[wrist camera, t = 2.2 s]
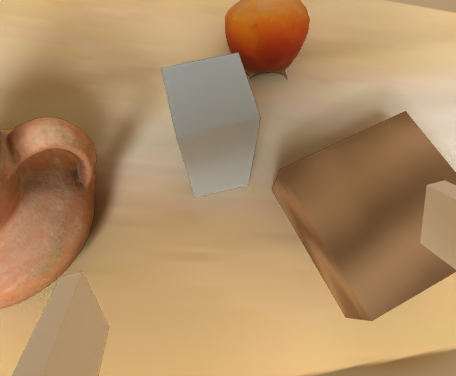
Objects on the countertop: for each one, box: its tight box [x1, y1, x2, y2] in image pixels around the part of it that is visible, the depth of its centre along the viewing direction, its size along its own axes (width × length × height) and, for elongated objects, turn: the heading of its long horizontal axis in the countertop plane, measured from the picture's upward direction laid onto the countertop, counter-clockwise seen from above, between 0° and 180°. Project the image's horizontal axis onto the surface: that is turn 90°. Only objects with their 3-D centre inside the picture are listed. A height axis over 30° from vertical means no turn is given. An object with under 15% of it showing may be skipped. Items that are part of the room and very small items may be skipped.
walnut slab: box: [272, 111, 456, 321], centre depth 25 cm, size 12×12×5 cm
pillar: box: [161, 53, 261, 198], centre depth 24 cm, size 5×5×11 cm
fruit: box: [225, 0, 310, 79], centre depth 31 cm, size 8×8×8 cm
